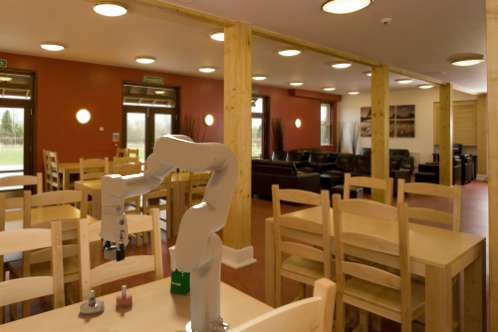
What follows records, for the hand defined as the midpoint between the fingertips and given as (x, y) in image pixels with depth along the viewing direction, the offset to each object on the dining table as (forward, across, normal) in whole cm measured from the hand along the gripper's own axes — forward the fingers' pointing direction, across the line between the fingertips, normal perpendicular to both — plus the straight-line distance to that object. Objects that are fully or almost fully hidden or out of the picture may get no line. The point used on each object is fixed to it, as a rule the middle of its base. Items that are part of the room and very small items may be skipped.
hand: (114, 258), depth 134 cm
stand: (+18, -2, -2) cm, 18 cm away
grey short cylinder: (-1, 0, 0) cm, 1 cm away
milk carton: (+18, -10, -24) cm, 32 cm away
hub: (+18, +4, +7) cm, 20 cm away
